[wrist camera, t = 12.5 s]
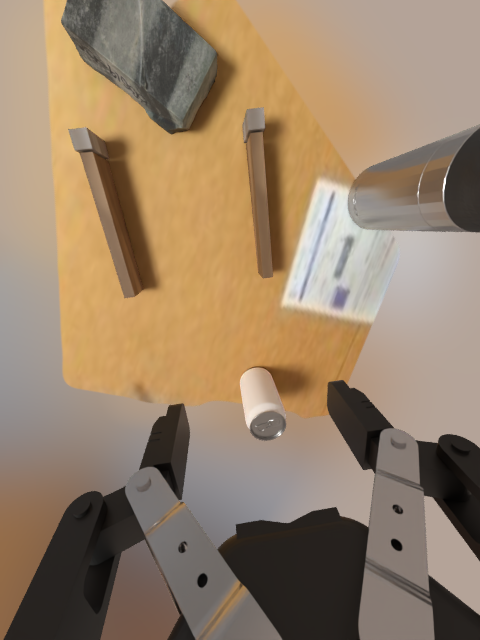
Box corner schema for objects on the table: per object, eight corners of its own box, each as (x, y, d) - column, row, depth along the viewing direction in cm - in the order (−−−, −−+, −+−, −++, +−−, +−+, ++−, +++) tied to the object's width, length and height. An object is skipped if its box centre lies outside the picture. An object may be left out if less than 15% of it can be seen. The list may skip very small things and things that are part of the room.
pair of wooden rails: (256, 123, 33) (263, 107, 29) (268, 271, 41) (275, 277, 36) (89, 143, 32) (68, 129, 28) (132, 290, 40) (121, 299, 35)
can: (276, 385, 49) (294, 432, 38) (247, 398, 50) (257, 448, 38) (264, 360, 47) (280, 403, 36) (234, 374, 47) (240, 420, 36)
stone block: (183, 144, 34) (178, 131, 29) (78, 64, 30) (51, 33, 25) (217, 76, 31) (218, 49, 27) (108, -21, 27) (85, -74, 23)
